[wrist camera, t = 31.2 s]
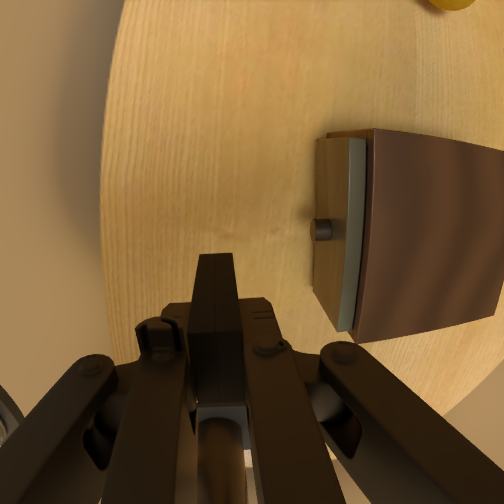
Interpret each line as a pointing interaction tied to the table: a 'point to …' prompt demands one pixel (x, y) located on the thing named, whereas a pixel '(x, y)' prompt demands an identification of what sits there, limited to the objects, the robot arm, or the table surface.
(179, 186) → the table surface
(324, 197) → the drawer
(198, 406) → the trivet mat
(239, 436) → the thermos bottle
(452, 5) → the lemon
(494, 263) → the cabinet
